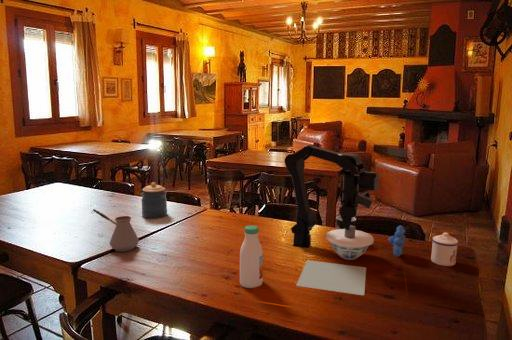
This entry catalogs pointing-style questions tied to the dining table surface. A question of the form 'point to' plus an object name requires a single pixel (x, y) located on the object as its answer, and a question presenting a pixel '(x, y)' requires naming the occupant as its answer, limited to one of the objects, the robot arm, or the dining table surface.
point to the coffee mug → (341, 225)
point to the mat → (333, 277)
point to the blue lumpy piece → (398, 240)
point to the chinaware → (348, 251)
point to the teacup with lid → (444, 250)
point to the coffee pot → (122, 233)
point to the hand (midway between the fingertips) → (348, 226)
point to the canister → (154, 201)
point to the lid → (349, 237)
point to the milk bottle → (251, 259)
